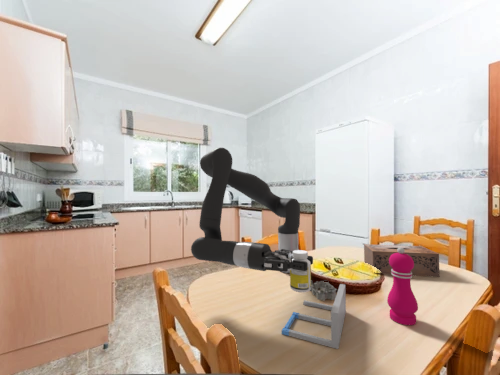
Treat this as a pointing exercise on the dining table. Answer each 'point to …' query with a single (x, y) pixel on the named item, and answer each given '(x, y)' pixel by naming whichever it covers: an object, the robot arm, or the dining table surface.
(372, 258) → the tissue box cover
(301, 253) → the supplement bottle
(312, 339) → the grey panel rail frame
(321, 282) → the egg carton
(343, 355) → the dining table surface
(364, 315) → the dining table surface
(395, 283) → the pepper mill
